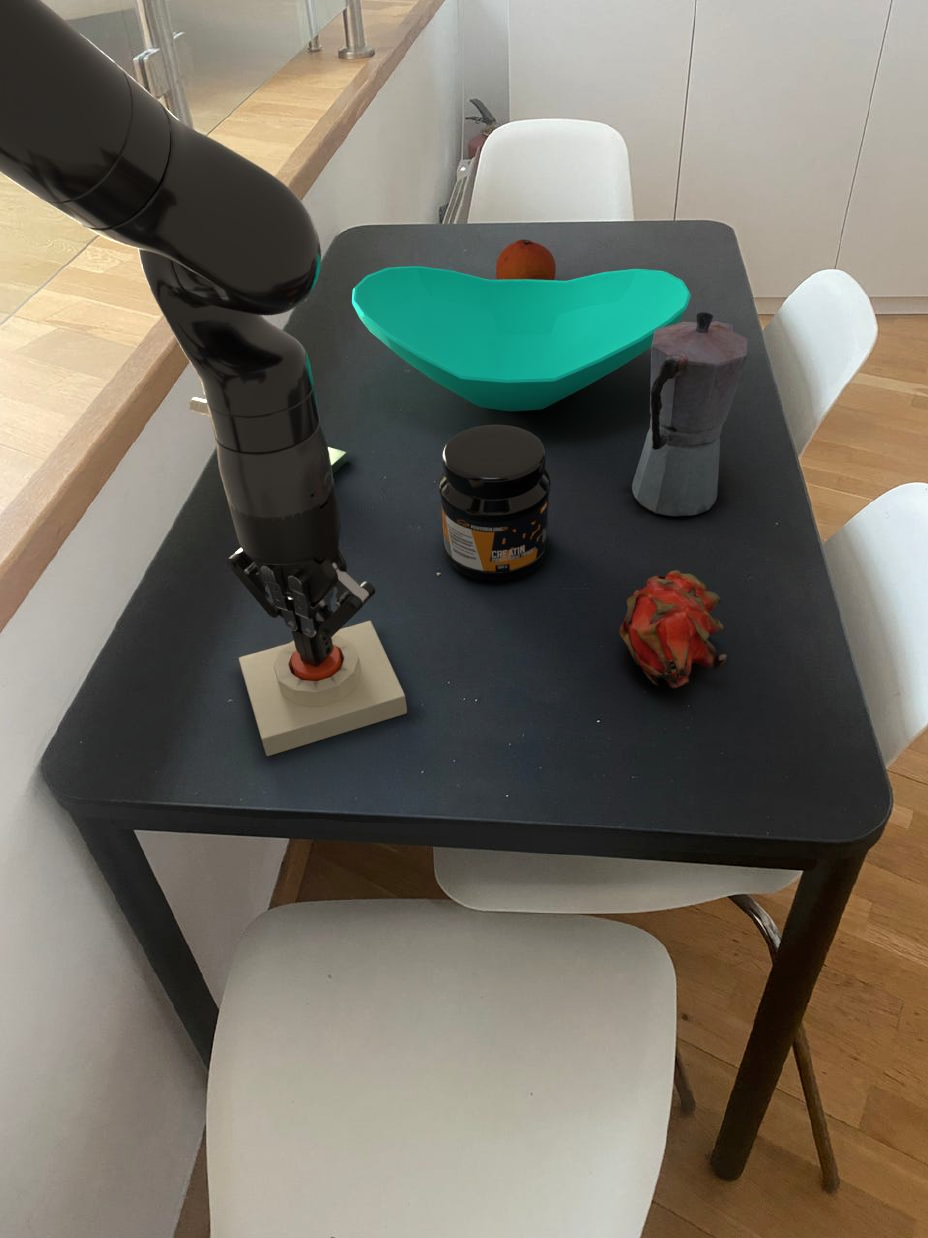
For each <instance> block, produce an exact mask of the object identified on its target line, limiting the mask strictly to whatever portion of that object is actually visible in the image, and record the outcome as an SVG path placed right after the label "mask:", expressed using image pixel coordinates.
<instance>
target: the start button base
mask: <svg viewBox="0 0 928 1238" xmlns="http://www.w3.org/2000/svg"><path fill="white" fill-rule="evenodd" d="M331 638H332V644H333V645H335V646H336V647H337V648H338V650H339V653H340V658H341V663H342V667H341V669H340V670H339V671H338V672H337V673H335V674H334V675H333V676H332V677H330V678H326V679H323V680H319V681H306V680H301V679H299V678H298V677H296V676H295V674H294V670H293V666H292V656H293V654H294V652H295V651H296V648H295V643H294V639H293V640H292V641H290V642H289V643H286V644H282V645H278V646H275V647H271V648H268V649H264V650H260V651H258V652H254V653H249V654H247V655H243V656H240V657H238V661H239V666H240V669H241V672H242V676H243V680H244V683H245V687H246V690H247V693H248V698H249V700H250V704H251V707H252V710H253V715H254V718H255V721H256V724H257V728H258V732H259V734H260V739H261V742H262V747H263V749H264V753H265V756H266V757H270V756H273V755H276V754H280V753H283V752H286V751H290V750H293V749H296V748H299V747H302V746H306V745H309V744H312V743H315V742H316V743H317V742H319V741H321V740H325V739H329V738H331V737H334V736H338V735H342V734H344V733H348V732H351V731H353V730H358V729H360V728H361V729H362V728H364V727H367V726H370V725H373V724H377V723H380V722H383V721H386V720H390V719H393V718H396V717H400V716H403V715H406V714H407V713H408V708H407V700H406V694H405V692H404V690H403V688H402V686H401V684H400V681H399V679H398V677H397V675H396V672H395V670H394V668H393V666H392V664H391V662H390V659H389V657H388V655H387V653H386V651H385V649H384V646H383V645H382V642H381V639H380V638H379V635H378V633H377V631H376V629H375V626H374V625H373V622H372V621H371V620H368V621H364V622H361V623H357V624H354V625H349V626H346V627H342V628H341V629H340V630H338V631H337V632H336V633H335V634H334V635H333V636H332V637H331Z"/></svg>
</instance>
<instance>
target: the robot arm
mask: <svg viewBox="0 0 928 1238" xmlns="http://www.w3.org/2000/svg"><path fill="white" fill-rule="evenodd" d="M0 174H1V175H3V176H4V177H6V178H7V179H9V180H11V181H12V182H13V183H15V184H16V185H18V186H19V187H20V188H22V189H24V190H25V191H27V192H28V193H30V194H31V195H33V196H35V197H36V198H38V199H40V200H42V201H43V202H45V203H46V204H48V205H49V206H50V207H53V208H54V209H56V210H58V212H61V213H62V214H64V215H66V216H67V217H68V218H70V219H71V220H73V221H75V222H77V223H78V224H80V225H82V226H83V227H84V228H86V229H87V230H89V231H91V232H93V233H95V234H97V235H99V236H101V237H102V238H105V239H107V240H110V241H112V242H115V243H118V244H121V245H123V246H127V247H130V248H134V249H138V257H139V261H140V265H141V269H142V271H143V274H144V277H145V280H146V282H147V285H148V288H149V289H150V291H151V294H152V295H153V297H154V300H155V301H156V304H157V305H158V308H159V310H160V311H161V313H162V315H163V317H164V318H165V320H166V322H167V324H168V326H169V328H170V330H171V331H172V333H173V335H174V337H175V339H176V341H177V342H178V345H179V346H180V348H181V350H182V352H183V353H184V355H185V357H186V359H187V360H188V362H189V364H190V365H191V366H192V368H193V370H194V371H195V374H196V375H197V376H198V379H199V380H200V382H201V386H202V392H203V395H204V400H206V404H207V408H208V411H209V415H210V417H209V419H210V423H211V425H212V426H211V427H212V430H213V434H214V435H213V436H214V440H215V444H216V445H215V446H216V454H217V463H218V469H219V474H220V477H221V481H222V485H223V489H224V493H225V496H226V500H227V504H228V508H229V511H230V515H231V519H232V523H233V527H234V531H235V534H236V538H237V541H238V544H239V547H240V548H239V549H237V550H236V551H235V552H234V553H233V554H232V555H231V556H229V557H228V558H227V559H226V564H227V566H228V567H229V569H230V570H231V572H233V573H234V575H235V576H236V577H237V578H238V580H239V581H240V582H241V583H242V584H243V586H244V587H245V588H246V589H247V591H248V592H249V593H250V594H251V595H252V597H253V598H254V600H256V602H258V604H259V605H260V607H262V608H263V610H264V611H265V612H266V614H267V615H268V616H269V617H271V618H273V619H276V618H278V617H280V618H282V619H283V621H284V624H285V626H286V627H287V628H288V629H289V630H290V631H291V635H292V639H293V640H294V643H295V648H296V650H297V652H298V653H299V654H300V658H301V661H303V662H306V663H308V664H311V665H313V666H316V667H318V666H319V665H320V664H321V663H323V662H324V661H325V660H326V658H327V657H328V656H329V655H330V654H331V653H332V652H333V649H334V648H333V644H332V638H331V637H332V636H333V635H334V634H335V633H336V632H337V631H338V630H340V629H342V628H344V626H345V625H346V624H347V623H348V622H349V621H350V620H351V619H353V617H355V615H357V613H358V612H359V611H360V610H361V609H362V608H363V607H364V606H365V605H366V604H367V603H368V601H370V599H371V598H372V597H373V596H374V595H375V594H376V589H375V586H374V585H373V584H372V583H370V582H368V581H363V582H362V583H361V584H358V582H357V581H355V580H354V579H353V578H352V577H351V576H350V575H349V574H348V573H347V571H348V563H347V561H346V559H345V557H344V555H343V554H342V552H341V551H340V546H339V545H340V544H339V543H340V537H341V529H342V522H341V515H340V510H339V503H338V498H337V497H338V496H337V493H336V492H337V491H336V486H335V479H334V474H333V473H332V467H331V461H330V455H329V450H328V447H329V446H328V442H327V438H326V435H325V433H324V429H323V426H322V423H321V417H320V412H319V407H318V406H319V405H318V400H317V394H316V388H315V383H314V377H313V372H312V367H311V362H310V358H309V356H308V352H307V350H306V348H305V347H304V345H303V344H302V343H301V342H300V341H299V340H298V339H297V338H296V337H295V336H293V335H292V334H290V333H288V332H287V331H284V329H283V330H282V329H281V328H279V327H277V326H275V325H274V324H272V323H271V322H269V321H268V320H267V319H265V318H264V316H266V317H267V316H276V315H277V316H278V315H281V314H285V313H288V312H290V311H292V310H294V309H295V308H296V307H298V306H299V305H300V304H302V303H303V302H305V300H306V299H307V298H308V297H309V295H311V293H312V291H313V290H314V287H315V286H316V283H317V281H318V278H319V276H320V271H321V265H322V250H321V249H322V248H321V241H320V238H319V234H318V231H317V227H316V225H315V223H314V220H313V218H312V216H311V214H310V212H309V210H308V208H307V207H306V206H305V204H304V203H303V201H301V199H300V198H299V196H297V195H296V194H295V192H294V191H293V190H292V189H291V188H289V186H287V185H286V184H285V183H284V182H283V181H281V180H280V179H279V178H277V176H275V175H273V174H272V173H270V172H268V171H267V170H266V169H265V168H263V167H261V166H259V165H258V164H256V163H255V162H253V161H251V160H249V159H247V158H246V157H244V156H243V155H241V154H240V153H237V152H236V151H234V150H233V149H231V148H229V147H228V146H226V145H224V144H223V143H221V142H219V141H217V140H215V139H213V138H212V137H210V136H207V135H206V134H203V133H202V132H200V131H198V130H196V129H194V128H192V127H191V126H189V125H188V124H186V123H184V122H182V121H181V120H179V119H178V118H177V117H176V116H175V115H173V113H171V111H170V110H168V108H167V107H166V106H164V105H163V104H162V103H161V101H159V100H158V99H157V98H156V97H154V95H152V93H150V92H149V91H148V90H146V89H145V88H144V86H142V85H141V84H140V83H139V82H137V81H136V80H135V79H134V78H133V77H132V76H130V75H129V74H128V72H126V71H125V70H124V69H123V68H122V67H120V66H119V65H118V64H117V63H116V62H115V61H114V60H113V59H111V58H110V57H109V56H108V55H107V54H105V53H104V52H103V51H102V50H100V49H99V48H98V47H97V46H96V45H95V44H94V43H92V41H90V40H89V39H88V38H87V37H85V35H84V34H82V33H81V32H80V31H78V29H76V28H75V27H74V26H72V25H71V24H70V23H69V22H68V21H67V20H65V19H64V18H63V17H62V16H60V15H59V13H57V12H55V10H54V9H52V8H51V7H50V6H48V5H47V4H46V3H45V2H44V1H42V0H0ZM267 586H268V589H269V593H270V594H269V593H268V592H267V590H266V587H267ZM334 588H336V591H337V593H336V595H335V597H336V601H335V602H334V605H335V607H336V609H335V610H332V603H331V602H332V598H333V597H334V592H335V591H334Z"/></svg>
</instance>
